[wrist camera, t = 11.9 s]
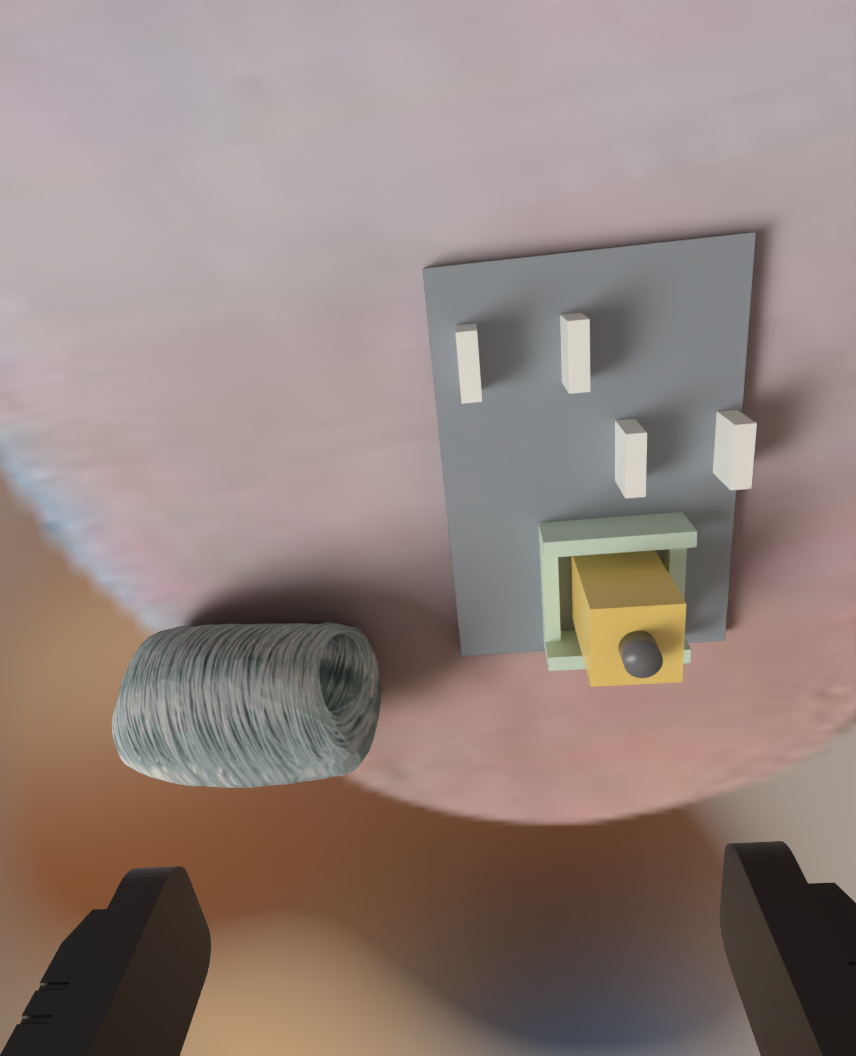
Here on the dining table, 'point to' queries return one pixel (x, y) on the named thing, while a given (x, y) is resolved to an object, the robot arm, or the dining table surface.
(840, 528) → the dining table surface
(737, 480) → the white blocks
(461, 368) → the white blocks
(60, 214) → the dining table surface
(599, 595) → the yellow drawer
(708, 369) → the board
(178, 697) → the spool
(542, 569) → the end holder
